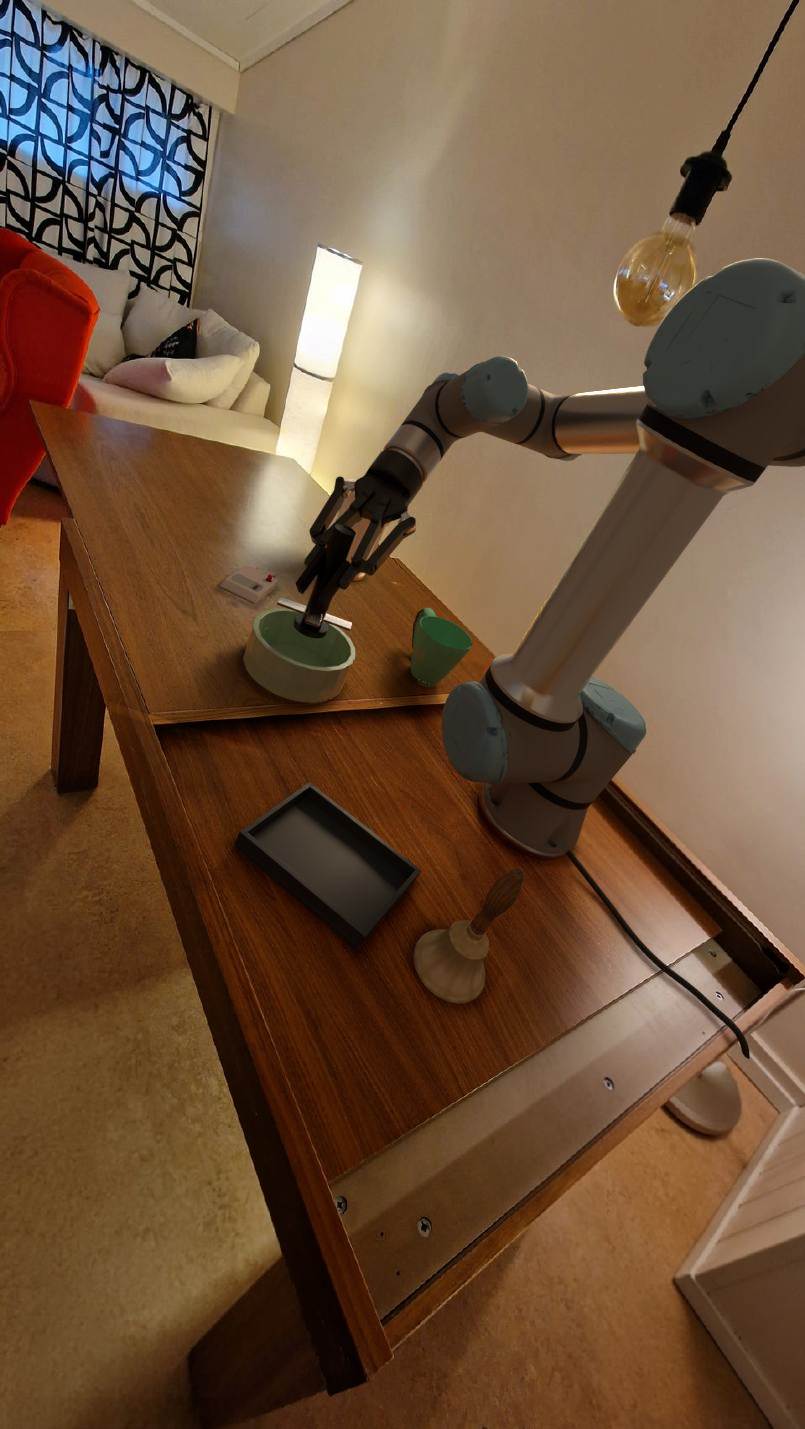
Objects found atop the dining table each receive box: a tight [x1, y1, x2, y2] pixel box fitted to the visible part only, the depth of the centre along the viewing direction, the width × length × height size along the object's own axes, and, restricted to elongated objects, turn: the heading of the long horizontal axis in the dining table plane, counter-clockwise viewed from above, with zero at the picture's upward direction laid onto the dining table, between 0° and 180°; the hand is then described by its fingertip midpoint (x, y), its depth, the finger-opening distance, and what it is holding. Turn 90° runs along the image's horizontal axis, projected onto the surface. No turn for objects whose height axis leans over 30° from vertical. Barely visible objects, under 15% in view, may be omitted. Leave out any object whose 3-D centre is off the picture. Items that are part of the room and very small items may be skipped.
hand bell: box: [413, 867, 526, 1005], centre depth 62 cm, size 8×8×16 cm
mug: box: [410, 607, 473, 688], centre depth 110 cm, size 15×10×10 cm
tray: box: [233, 781, 422, 952], centre depth 69 cm, size 17×12×3 cm
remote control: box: [218, 564, 280, 605], centre depth 111 cm, size 7×16×3 cm, turn 166°
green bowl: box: [242, 607, 356, 704], centre depth 94 cm, size 16×16×7 cm
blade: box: [276, 524, 356, 639], centre depth 87 cm, size 11×10×16 cm
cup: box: [335, 478, 392, 582], centre depth 128 cm, size 11×11×17 cm
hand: (310, 595), depth 85 cm, fingers closed on blade, 3 cm apart
